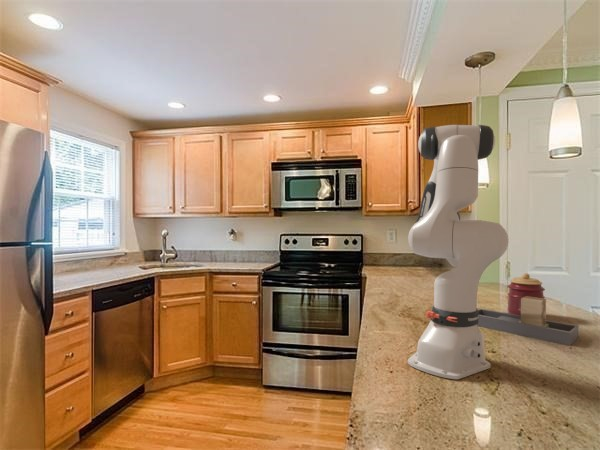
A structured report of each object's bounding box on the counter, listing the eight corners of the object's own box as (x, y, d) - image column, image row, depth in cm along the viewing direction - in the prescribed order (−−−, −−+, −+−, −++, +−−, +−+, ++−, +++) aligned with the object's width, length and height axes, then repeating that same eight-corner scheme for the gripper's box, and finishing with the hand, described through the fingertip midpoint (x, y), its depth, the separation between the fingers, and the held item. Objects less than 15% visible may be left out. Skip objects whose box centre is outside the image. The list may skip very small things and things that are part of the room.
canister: (533, 312, 151) (533, 271, 151) (552, 320, 138) (552, 275, 138) (501, 311, 152) (502, 270, 152) (517, 319, 139) (517, 275, 139)
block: (541, 328, 118) (541, 301, 118) (520, 324, 122) (520, 298, 122) (545, 324, 122) (546, 298, 122) (526, 321, 126) (526, 296, 126)
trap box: (570, 345, 110) (570, 332, 110) (467, 323, 133) (467, 313, 133) (578, 337, 118) (578, 325, 118) (479, 318, 141) (480, 308, 141)
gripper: (445, 241, 135) (471, 269, 128) (468, 240, 149) (492, 265, 141) (434, 252, 138) (459, 279, 131) (457, 250, 152) (481, 275, 145)
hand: (476, 272), depth 136 cm, fingers closed
